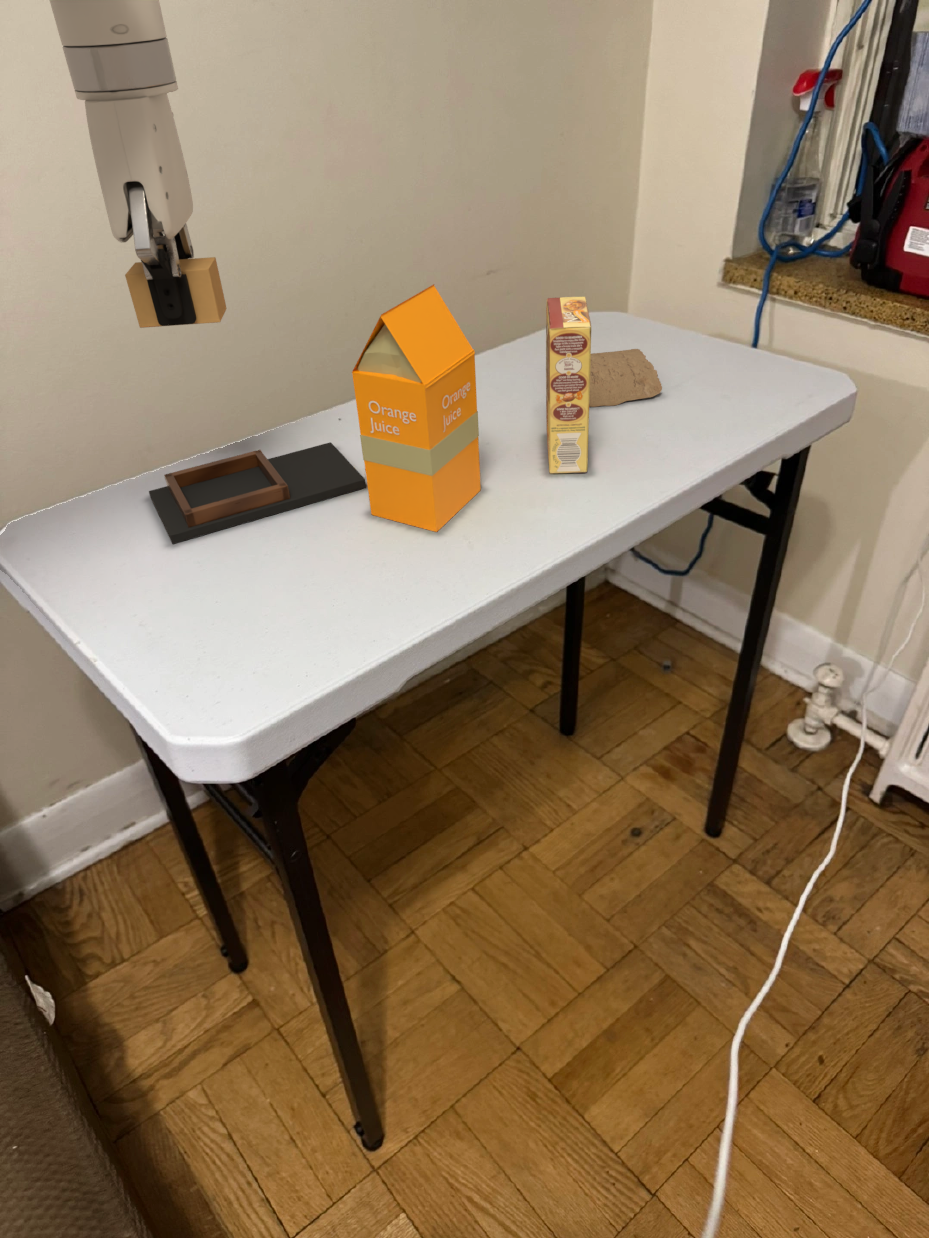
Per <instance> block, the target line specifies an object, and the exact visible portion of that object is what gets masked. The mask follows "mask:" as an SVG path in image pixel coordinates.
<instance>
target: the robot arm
mask: <svg viewBox="0 0 929 1238" xmlns="http://www.w3.org/2000/svg"><path fill="white" fill-rule="evenodd" d="M49 4H50V7H51V10H52V14H53V17H54V21H55V24H56V29H57V32H58V36H59V39H60V43H61V46H62V50H63V54H64V58H65V62H66V66H67V69H68V72H69V76H70V78H71V83H72V87H73V89H74V93H75V97H76V99H77V100H80V101H84V107H85V116H86V123H87V128H88V133H89V134H88V135H89V140H90V144H91V150H92V154H93V158H94V159H93V160H94V163H95V167H96V172H97V176H98V181H99V185H100V189H101V194H102V197H103V203H104V206H105V210H106V215H107V218H108V222H109V227H110V230H111V233H112V236H113V238H114V239H115V240H116V241H117V242H119V243H127V242H128V241H129V240H130V239H131V238H132V237H133V243H134V250H135V251H134V252H135V254H136V257H137V258H138V259H139V260H140V262H142V264H143V269H144V273H145V277H146V279H147V282H148V286H149V290H150V294H151V297H152V301H153V305H154V309H155V312H156V316H157V320H158V323H159V324H160V325H161V326H160V327H170V326H171V327H172V325H174V326H186V324H188V325H195V324H194V323H195V321H196V319H197V318H196V313H195V309H194V305H193V301H192V297H191V292H190V288H189V284H188V280H187V276H186V274H182V273H181V267H180V262H179V260H180V259H195V252H194V247H193V243H192V240H191V239H192V238H191V236H190V232H189V228H188V224H187V222H188V221H189V219H190V218H191V216H192V214H193V212H194V201H193V194H192V190H191V189H192V188H191V184H190V178H189V175H188V171H187V166H186V163H185V162H186V161H185V158H184V154H183V153H184V152H183V149H182V145H181V142H180V138H179V133H178V129H177V126H176V122H175V118H174V112H173V110H172V106H171V104H170V103H171V102H170V100H169V96H168V94H169V93H173V92H176V91H178V90H179V86H178V81H177V76H176V72H175V67H174V62H173V58H172V54H171V49H170V43H169V40H168V38H167V31H166V27H165V23H164V17H163V13H162V8H161V2H160V0H49Z"/></svg>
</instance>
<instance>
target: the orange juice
mask: <svg viewBox="0 0 929 1238" xmlns="http://www.w3.org/2000/svg"><path fill="white" fill-rule="evenodd" d="M475 354H476V352H475V349H473V346H472V345H471V344H470V342H469V340H468V339H467V337H466V336H465V334H464V332H463V331H462V329H461V327H460V326H459V324H458V322H457V321H456V319H455V317H454V316H453V314H452V312H451V311H450V309H449V307H448V305H447V304H446V302H445V301H444V299H443V297H442V296H441V294H440V292H439V291H438V289H437V288H436V286H435V283H433V284H432V285H430V286H427V288H424V289H423V290H422V291H420V292H418V293H416V294H414V295H412V296H411V297H409V298H407V299H405V300H404V301H402V302H400V303H399V304H397V305H395V306H393V307H392V308H390V309H389V310H386V311H384V312H383V313H381V314H380V316H379V318H378V320H377V322H376V324H375V325H374V328H373V330H372V332H371V334H370V336H369V338H368V340H367V341H366V343H365V345H364V348H363V349H362V352H361V353H360V355H359V357H358V359H357V361H356V363H355V364H354V368H353V369H352V371H351V374H352V375H351V376H352V381H353V389H354V396H355V404H356V410H357V412H356V413H357V418H358V426H359V433H360V434H359V437H360V444H361V452H362V460H363V463H364V470H365V478H366V486H367V491H368V498H369V507H370V515H371V516H374V517H379V518H382V519H386V520H390V521H394V522H396V523H401V524H403V525H408V526H413V527H416V528H419V529H424V530H427V531H430V532H431V531H432V532H435V533H437V532H438V531H440V530H441V529H442V528H443V527H444V526H445V525H446V524H447V523H448V522H450V520H451V519H452V518H453V517H455V515H456V514H457V513H458V512H459V511H461V510H462V509H463V508H464V507H465V506H466V505H467V504H468V503H469V502H470V501H471V500H473V498H474V497H475V496H476V495H477V494H479V493H480V492H481V490H482V487H481V486H482V485H481V467H480V464H481V463H480V446H479V445H480V443H479V441H480V440H479V437H480V433H479V432H480V431H479V412H478V399H477V398H478V397H477V377H476V355H475Z"/></svg>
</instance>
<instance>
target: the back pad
mask: <svg viewBox="0 0 929 1238" xmlns="http://www.w3.org/2000/svg"><path fill="white" fill-rule="evenodd" d="M164 480H165V483H166V486H162V487H159V488H155V489H151V490H148V494H149V497H150V500H151V502H152V505H153V507H154V508H155V510H156V512H157V514H158V517H159V519H160V521H161V523H162V526H163V527H164V529H165V531H166V534H167V536H168V538H169V540H170V542H171V544H172V545H175V544H178V543H181V542H184V541H188V540H191V539H195V538H199V537H202V536H205V535H208V534H213V533H215V532H218V531H219V532H220V531H223V530H225V529H229V528H232V527H236V526H239V525H243V524H246V523H250V522H253V521H256V520H260V519H263V518H267V517H270V516H273V515H278V514H281V513H284V512H287V511H291V510H294V509H298V508H300V507H305V506H308V505H311V504H315V503H318V502H322V501H325V500H328V499H332V498H335V497H339V496H343V495H345V494H349V493H353V492H355V491H359V490H363V489H366V488H367V481H366V479H365V478H364V476H362V474H361V473H360V472H359V471H358V470H357V469H356V468H355V467H354V465H352V463H351V462H350V461H349V459H347V458H346V457H345V456H344V455H343V453H342V452H341V451H340V450H339V449H338V448H337V447H336V446H335V445H334V444H333V443H332V442H327V443H322V444H319V445H315V446H311V447H308V448H304V449H301V450H296V451H293V452H289V453H286V454H282V455H277V456H274V457H270V458H267V457H266V455H265V454H264V452H263V451H262V449H255V450H252V451H249V452H245V453H242V454H238V455H234V456H229V457H226V458H223V459H218V460H214V461H211V462H207V463H204V464H200V465H196V466H192V467H187V468H184V469H180V470H176V471H172V472H168V473H166V474H165V473H164Z"/></svg>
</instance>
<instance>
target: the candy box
mask: <svg viewBox="0 0 929 1238" xmlns="http://www.w3.org/2000/svg"><path fill="white" fill-rule="evenodd" d="M586 298H587V297H586V296H563V297H548V298H547V299H546V303H545V304H546V307H545V308H546V310H545V312H546V313H545V315H546V316H545V403H546V404H545V410H546V411H545V412H546V413H545V414H546V418H545V419H546V445H547V459H548V472H549V474H567V473H568V474H569V473H570V474H571V473H573V474H574V473H587V472H588V462H589V460H588V458H589V433H590V432H589V431H590V430H589V429H590V427H589V426H590V406H589V396H590V361H591V354H592V321H591V317H590V312H589V307H588V303H587V299H586Z"/></svg>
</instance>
